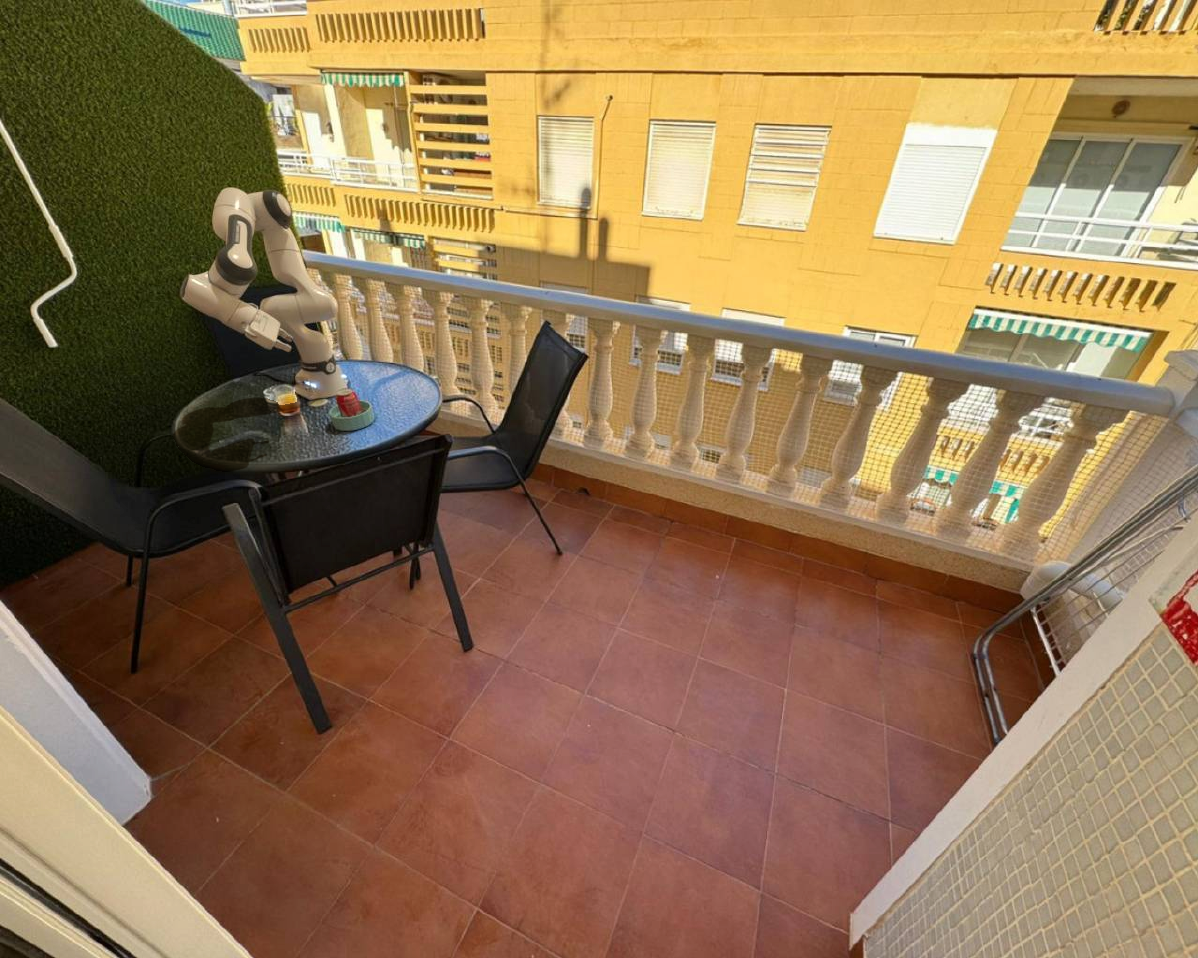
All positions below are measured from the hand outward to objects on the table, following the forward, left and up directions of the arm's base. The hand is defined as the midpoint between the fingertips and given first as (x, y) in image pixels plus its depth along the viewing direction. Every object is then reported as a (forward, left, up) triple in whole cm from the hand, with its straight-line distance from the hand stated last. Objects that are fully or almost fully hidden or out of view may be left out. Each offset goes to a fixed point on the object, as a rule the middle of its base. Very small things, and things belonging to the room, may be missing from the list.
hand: (291, 344), depth 162 cm
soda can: (+7, +8, -31) cm, 33 cm away
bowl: (+7, +9, -31) cm, 33 cm away
